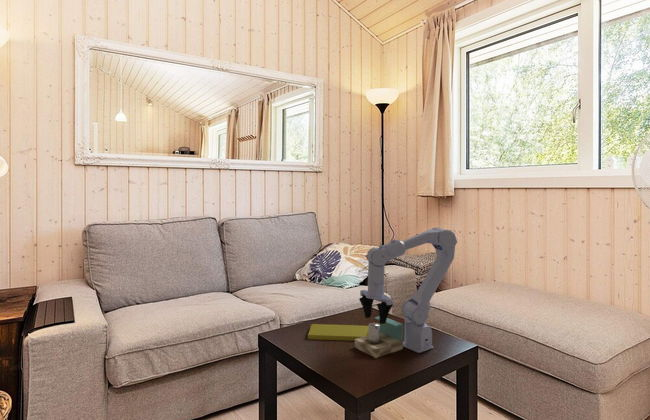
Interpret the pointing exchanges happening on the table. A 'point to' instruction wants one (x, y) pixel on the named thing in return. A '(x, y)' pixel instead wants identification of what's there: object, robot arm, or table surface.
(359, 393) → the table surface
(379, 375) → the table surface
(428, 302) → the robot arm
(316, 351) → the table surface
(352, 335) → the flat olive board
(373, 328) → the peg
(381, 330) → the teal block
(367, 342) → the socket block
